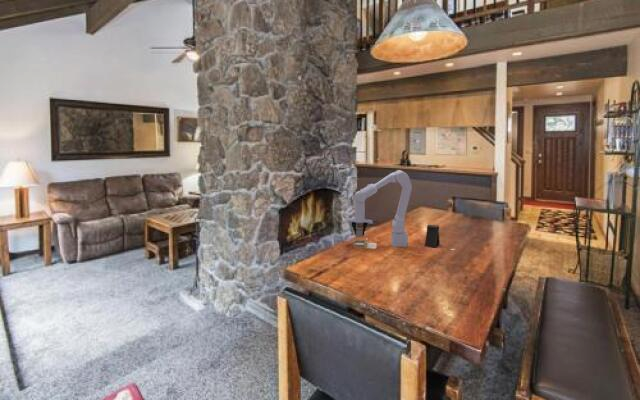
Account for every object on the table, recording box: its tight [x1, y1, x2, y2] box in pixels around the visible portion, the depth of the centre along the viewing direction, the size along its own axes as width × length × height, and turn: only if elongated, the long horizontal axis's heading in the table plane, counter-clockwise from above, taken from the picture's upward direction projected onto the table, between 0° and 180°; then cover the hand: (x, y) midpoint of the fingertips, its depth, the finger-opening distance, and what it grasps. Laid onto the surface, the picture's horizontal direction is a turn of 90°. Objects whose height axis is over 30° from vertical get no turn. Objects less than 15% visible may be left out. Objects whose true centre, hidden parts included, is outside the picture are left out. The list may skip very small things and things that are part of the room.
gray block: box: [355, 227, 364, 238], centre depth 210 cm, size 4×4×4 cm
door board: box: [352, 237, 378, 250], centre depth 210 cm, size 13×10×4 cm
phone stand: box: [424, 224, 441, 249], centre depth 211 cm, size 9×6×12 cm, turn 144°
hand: (359, 235), depth 210 cm, fingers closed on gray block, 4 cm apart
